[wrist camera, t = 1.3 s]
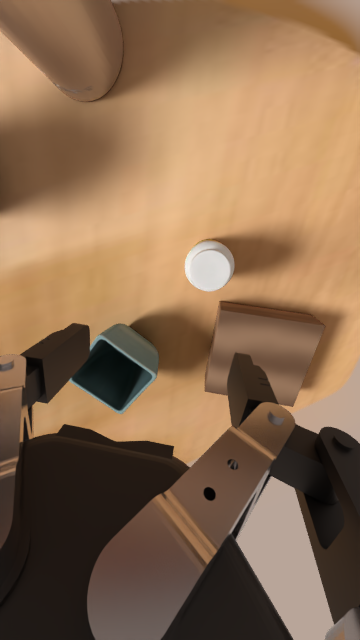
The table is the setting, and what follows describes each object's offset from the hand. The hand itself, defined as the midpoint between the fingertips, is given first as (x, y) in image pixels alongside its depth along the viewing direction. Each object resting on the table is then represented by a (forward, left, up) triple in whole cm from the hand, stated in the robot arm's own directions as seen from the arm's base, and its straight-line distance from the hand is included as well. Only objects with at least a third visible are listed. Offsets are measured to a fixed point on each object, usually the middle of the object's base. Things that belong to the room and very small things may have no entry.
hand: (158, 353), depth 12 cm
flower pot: (+12, -8, -21) cm, 25 cm away
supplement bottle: (-3, +2, -21) cm, 22 cm away
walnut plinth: (+9, +11, -21) cm, 25 cm away
